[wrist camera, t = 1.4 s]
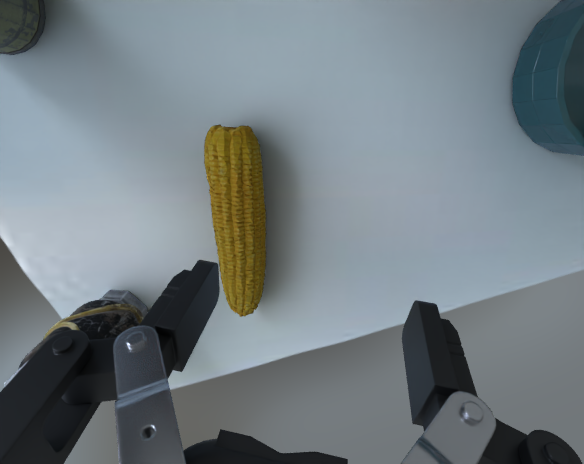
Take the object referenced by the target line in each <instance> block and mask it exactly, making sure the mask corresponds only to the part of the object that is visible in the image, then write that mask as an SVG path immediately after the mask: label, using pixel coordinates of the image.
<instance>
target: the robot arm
mask: <svg viewBox="0 0 584 464" xmlns="http://www.w3.org/2000/svg"><path fill="white" fill-rule="evenodd" d="M218 297H219V271H218V264H217V263H214V262H209V261H203V260H199V261H197V263H196V264H195V266H194V267H193V269H192V270H191V271H188V270H183V271H182V272H180V273H179V274H177V275H176V276H174V277H173V279H172V280H171V281H170V283H169V284H168V286H167V288H165V290H164V291H163V292H162V294H161V296H160V297H159V298H158V299H157V301H156V302H155V303H154V305H153V306H152V308H151V309H150V310H149V312H148V313H147V315H146V316H145V317H144V319H143V320H142V321H141V323H140V324H139V325H138V326H134V327H131V328H129V329H127V330H125V331H123V332H122V333H121V334H120V335H119V336H118V337H116V338H108V339H95V340H89V338H88V336H87V334H86V333H85V332H83V331H80V330H67V331H63V332H60V333H58V334H56V335H54V336H52V337H51V338H49V339H48V340H47V341H46V342H45V343H44V344H43V345H42V346H41V347H40V348H39V349H38V351H37V352H36V353H35V354H34V355H33V356H32V357H31V358H30V359H29V361H28V362H27V363H26V364H25V365H24V366H23V367H22V368H21V370H20V371H19V372H18V373H17V374H16V375H15V376H14V377H13V379H12V380H11V381H10V382H9V383H8V384H7V385H6V386H5V387H4V389H3V390H2V391H1V392H0V464H64V462H65V460H66V458H67V457H68V455H69V454H70V452H71V451H72V449H73V447H74V446H75V444H76V442H77V441H78V439H79V438H80V436H81V434H82V432H83V431H84V429H85V428H86V426H87V424H88V423H89V421H90V419H91V418H92V416H93V415H94V413H95V411H96V410H97V408H98V406H99V405H100V403H101V402H102V401H111V400H116V401H115V416H116V429H117V443H118V455H119V464H347V463H348V460H347V459H345V458H340V457H336V456H332V455H328V454H324V453H319V452H300V453H279V452H277V451H276V450H274V449H272V448H270V447H269V446H267V445H265V444H263V443H261V442H260V441H258V440H256V439H254V438H253V437H251V436H246V435H242V434H238V433H234V432H229V431H225V430H220V432H219V435H218V438H217V439H212V440H206V441H202V442H200V443H197V444H194V445H192V446H190V447H188V448H187V449H185V450H183V447H182V443H181V438H180V433H179V429H178V425H177V420H176V415H175V411H174V407H173V402H172V397H171V392H170V388H169V383H168V378H169V376H170V374H171V372H172V370H175V371H180V372H182V371H183V369H184V367H185V365H186V363H187V361H188V359H189V357H190V355H191V353H192V351H193V349H194V347H195V345H196V343H197V341H198V339H199V337H200V335H201V333H202V331H203V330H204V328H205V326H206V324H207V322H208V320H209V318H210V316H211V314H212V312H213V310H214V308H215V306H216V304H217V301H218ZM402 343H403V352H404V360H405V367H406V375H407V383H408V391H409V399H410V407H411V415H412V423H413V424H417V425H421V426H423V427H424V433H423V434H422V436H421V437H420V438H419V439H418V440H417V441H416V443H415V444H414V446H413V447H412V448H411V450H410V451H409V452H408V454H407V455H406V457H405V458H404V459H403V461H402V462H401V464H582V462H581V460H580V458H579V457H578V455H577V454H576V453H575V451H574V450H573V449H572V448H571V447H570V446H569V445H568V444H567V443H566V442H565V441H564V440H562V439H561V438H559V437H558V436H556V435H554V434H552V433H550V432H547V431H544V430H534V431H532V432H531V433H530V434H529V435H526V434H524V433H522V432H520V431H518V430H516V429H514V428H512V427H510V426H508V425H506V424H504V423H502V422H501V421H499V420H498V419H496V418H495V417H494V415H493V413H492V411H491V410H490V408H489V407H488V406H487V405H486V404H485V403H484V402H483V401H482V400H481V399H479V398H478V396H477V393H476V390H475V387H474V384H473V381H472V377H471V374H470V371H469V368H468V364H467V361H466V358H465V357H464V351H463V348H462V346H461V342H460V338H459V335H458V332H457V330H456V329H455V328H454V326H453V325H452V324H451V323H450V321H449V320H446V319H441V318H440V314H439V311H438V307H437V305H436V304H434V303H428V302H423V301H417V300H416V301H414V303H413V305H412V308H411V310H410V313H409V315H408V318H407V320H406V322H405V325H404V328H403V333H402Z"/></svg>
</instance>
